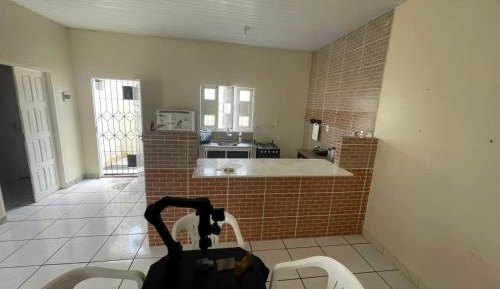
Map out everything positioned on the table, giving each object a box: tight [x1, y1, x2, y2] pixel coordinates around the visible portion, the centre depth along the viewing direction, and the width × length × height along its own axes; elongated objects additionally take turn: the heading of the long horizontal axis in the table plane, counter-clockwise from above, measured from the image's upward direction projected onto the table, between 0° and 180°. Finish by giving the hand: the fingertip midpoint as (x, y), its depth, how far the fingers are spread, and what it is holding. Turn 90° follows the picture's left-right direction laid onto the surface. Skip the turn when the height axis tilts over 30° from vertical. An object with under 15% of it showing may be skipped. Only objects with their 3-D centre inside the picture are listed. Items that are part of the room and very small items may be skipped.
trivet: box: [215, 257, 236, 272], centre depth 119 cm, size 10×8×1 cm
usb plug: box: [195, 257, 214, 272], centre depth 115 cm, size 9×4×4 cm, turn 105°
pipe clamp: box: [234, 251, 254, 277], centre depth 116 cm, size 12×4×6 cm, turn 143°
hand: (204, 249), depth 114 cm, fingers open, 9 cm apart
